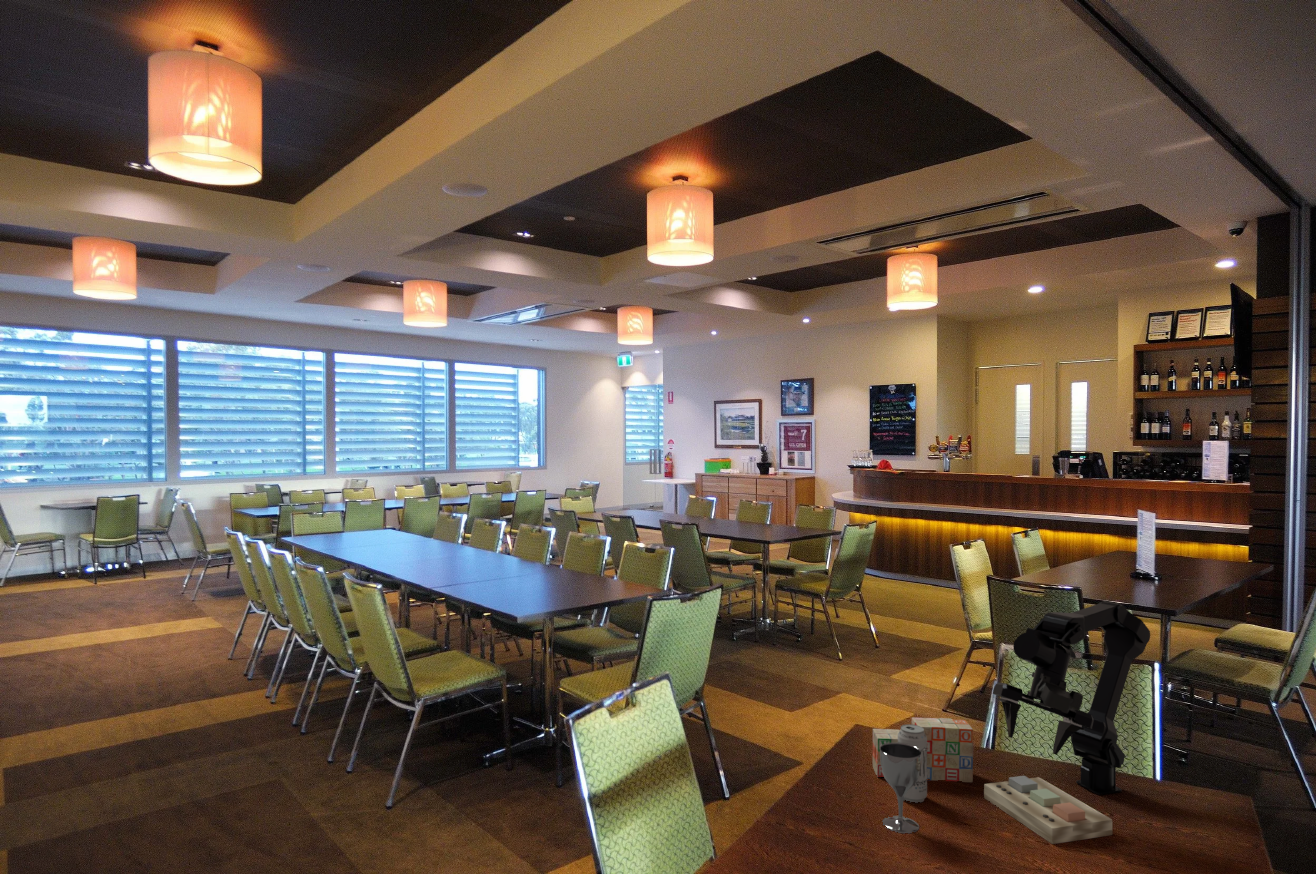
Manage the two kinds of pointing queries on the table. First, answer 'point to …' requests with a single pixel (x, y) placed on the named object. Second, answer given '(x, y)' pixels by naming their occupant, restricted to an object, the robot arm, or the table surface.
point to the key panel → (1047, 813)
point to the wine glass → (900, 779)
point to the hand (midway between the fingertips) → (1032, 745)
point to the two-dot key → (1069, 812)
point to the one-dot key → (1044, 797)
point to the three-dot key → (1022, 784)
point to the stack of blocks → (936, 748)
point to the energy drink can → (918, 739)
